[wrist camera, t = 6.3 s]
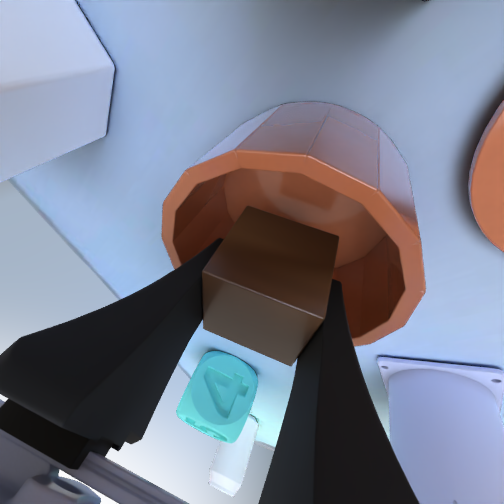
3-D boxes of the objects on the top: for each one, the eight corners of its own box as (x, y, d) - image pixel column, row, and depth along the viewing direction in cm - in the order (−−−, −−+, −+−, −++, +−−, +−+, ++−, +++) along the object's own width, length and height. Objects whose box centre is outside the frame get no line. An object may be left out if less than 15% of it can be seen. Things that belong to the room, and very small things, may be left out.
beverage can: (246, 421, 55) (223, 492, 47) (226, 407, 53) (198, 478, 45) (266, 424, 50) (244, 502, 42) (244, 409, 49) (217, 488, 41)
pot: (418, 263, 14) (433, 360, 10) (260, 275, 20) (231, 340, 16) (393, 49, 9) (404, 78, 5) (187, 148, 15) (116, 198, 11)
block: (340, 235, 10) (325, 319, 7) (310, 292, 13) (291, 367, 10) (247, 204, 10) (201, 270, 8) (238, 265, 13) (202, 329, 11)
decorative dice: (209, 343, 33) (175, 407, 28) (263, 370, 33) (240, 441, 27) (203, 362, 39) (174, 418, 34) (249, 385, 38) (228, 446, 33)
